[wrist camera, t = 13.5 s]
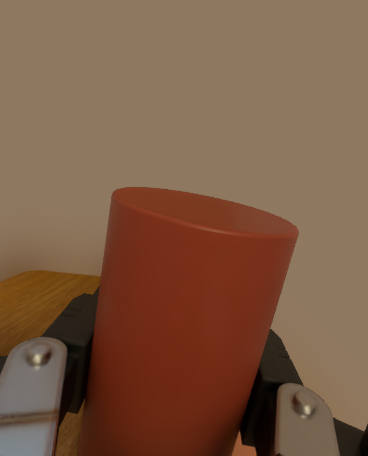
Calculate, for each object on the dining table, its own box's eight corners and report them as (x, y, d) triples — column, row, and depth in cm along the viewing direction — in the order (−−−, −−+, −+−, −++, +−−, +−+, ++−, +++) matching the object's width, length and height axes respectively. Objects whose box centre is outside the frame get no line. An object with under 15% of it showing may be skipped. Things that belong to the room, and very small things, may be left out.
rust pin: (192, 448, 12) (255, 203, 10) (219, 612, 8) (346, 247, 5) (83, 447, 12) (120, 180, 9) (47, 630, 7) (97, 209, 5)
